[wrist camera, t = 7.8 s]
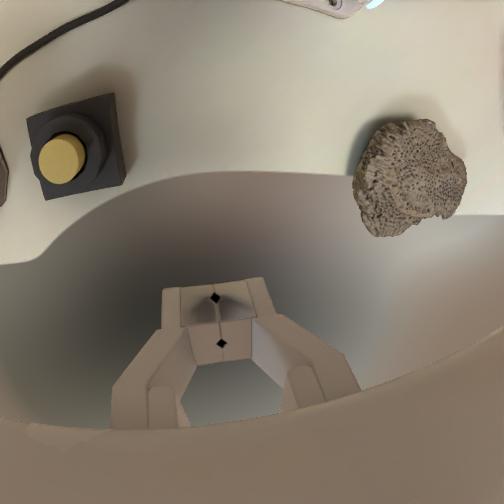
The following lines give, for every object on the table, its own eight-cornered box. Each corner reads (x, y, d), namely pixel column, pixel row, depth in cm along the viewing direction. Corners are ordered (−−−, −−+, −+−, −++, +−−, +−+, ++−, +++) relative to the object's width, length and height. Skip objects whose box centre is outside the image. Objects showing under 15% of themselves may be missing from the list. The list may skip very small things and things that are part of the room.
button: (52, 180, 20) (44, 188, 18) (43, 139, 18) (34, 145, 16) (89, 171, 20) (83, 179, 19) (81, 129, 18) (73, 133, 17)
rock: (487, 154, 25) (461, 138, 29) (400, 104, 21) (370, 93, 24) (439, 253, 34) (419, 232, 38) (344, 244, 29) (326, 218, 33)
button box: (53, 191, 24) (37, 209, 20) (36, 114, 19) (16, 122, 16) (126, 176, 25) (118, 193, 22) (114, 92, 20) (102, 96, 17)
